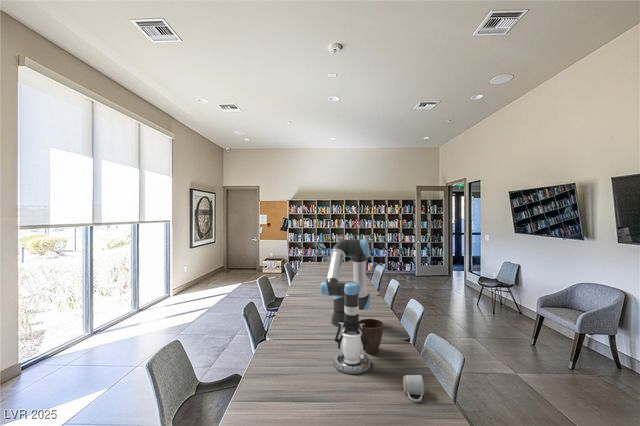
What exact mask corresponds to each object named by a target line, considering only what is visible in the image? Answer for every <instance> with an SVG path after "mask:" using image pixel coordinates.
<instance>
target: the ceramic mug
mask: <svg viewBox="0 0 640 426" xmlns="http://www.w3.org/2000/svg"><path fill="white" fill-rule="evenodd" d="M402 385H403V389H404V390H403V392H404V393H405V394H407V396H408V398H409V400H411V402H413V403H420V402H421V401H422V400H423V396H424V395H425V384H424V378H423V376H422V374H407V375H406V374H405V375H404V376H402ZM411 395H413V396H414V395H415V396H420V397H419V398H418V399H416V398H413V397H411Z"/></svg>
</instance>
